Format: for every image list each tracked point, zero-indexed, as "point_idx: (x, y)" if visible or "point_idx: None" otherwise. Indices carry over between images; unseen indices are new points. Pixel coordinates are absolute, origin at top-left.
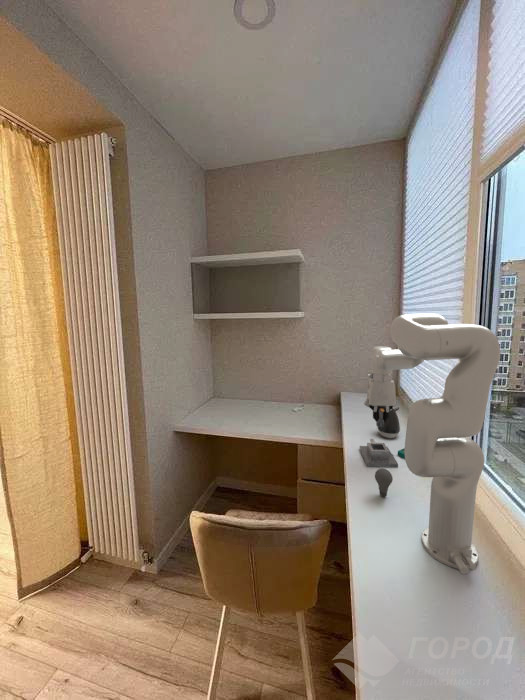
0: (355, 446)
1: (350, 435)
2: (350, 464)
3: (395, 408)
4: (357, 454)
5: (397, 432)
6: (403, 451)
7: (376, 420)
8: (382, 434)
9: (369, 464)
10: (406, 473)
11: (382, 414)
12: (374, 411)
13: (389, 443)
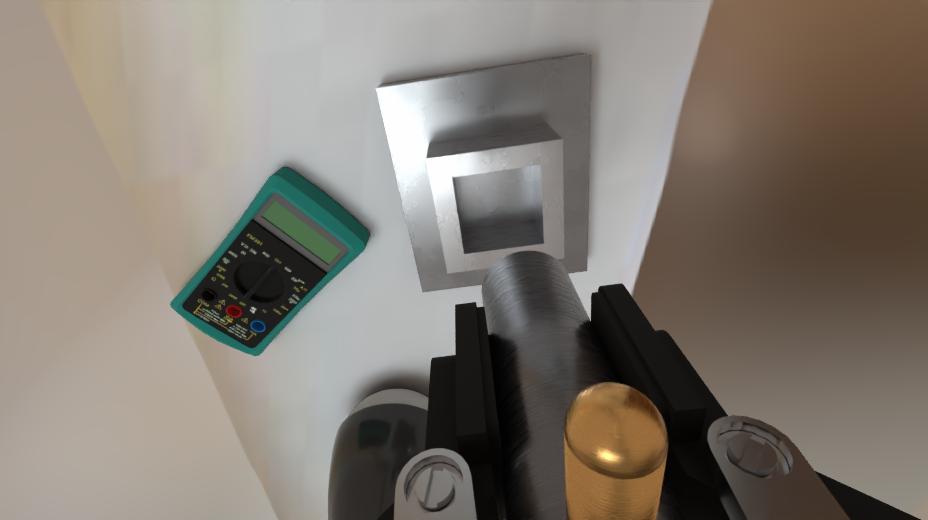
0: (596, 285)
1: None
2: (689, 61)
3: None
4: (607, 199)
5: (350, 417)
6: (331, 252)
7: (621, 290)
8: None
9: (571, 56)
10: (331, 14)
11: (541, 393)
12: (752, 435)
13: (402, 344)
